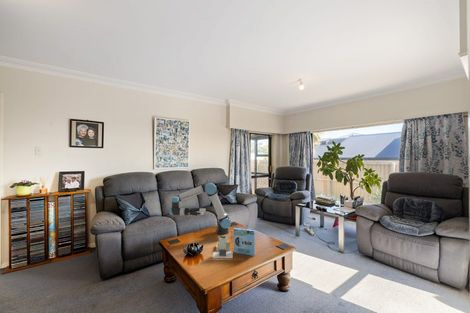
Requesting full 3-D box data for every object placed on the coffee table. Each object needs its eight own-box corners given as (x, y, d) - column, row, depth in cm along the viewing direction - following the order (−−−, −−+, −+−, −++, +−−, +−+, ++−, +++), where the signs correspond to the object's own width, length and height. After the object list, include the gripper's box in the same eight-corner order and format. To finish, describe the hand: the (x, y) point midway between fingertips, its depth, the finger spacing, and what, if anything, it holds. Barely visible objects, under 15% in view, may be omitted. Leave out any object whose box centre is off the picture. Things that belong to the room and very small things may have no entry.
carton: (217, 246, 207) (217, 232, 207) (230, 246, 207) (230, 231, 207) (216, 251, 195) (216, 236, 195) (230, 251, 195) (230, 236, 195)
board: (213, 252, 194) (213, 251, 194) (232, 252, 194) (232, 251, 194) (212, 258, 182) (212, 258, 182) (232, 258, 182) (232, 257, 182)
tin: (219, 253, 191) (219, 236, 191) (226, 253, 191) (226, 236, 191) (219, 256, 186) (219, 238, 186) (226, 255, 186) (225, 238, 186)
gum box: (255, 253, 192) (255, 229, 191) (254, 256, 187) (253, 231, 187) (235, 250, 197) (235, 227, 197) (233, 253, 193) (233, 228, 192)
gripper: (187, 211, 231) (206, 211, 231) (181, 218, 206) (203, 218, 206) (187, 205, 230) (206, 205, 231) (181, 211, 206) (203, 211, 206)
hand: (204, 211), depth 218 cm, fingers open, 13 cm apart
